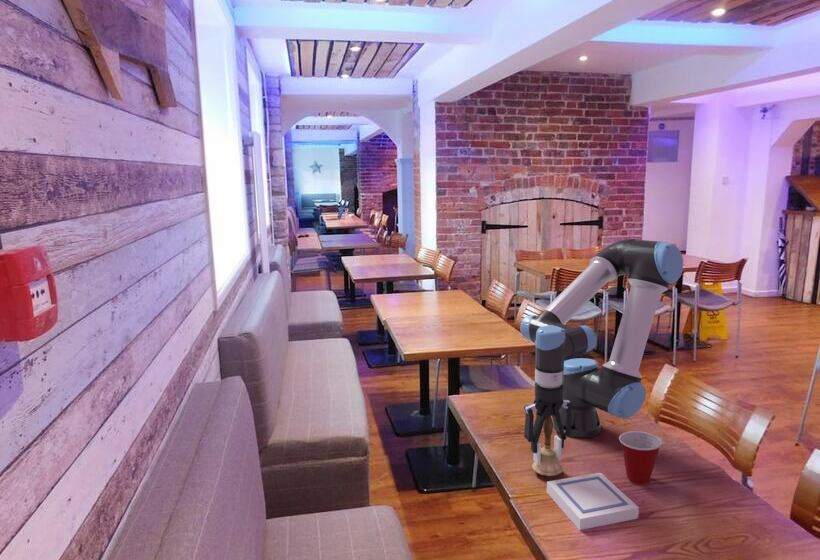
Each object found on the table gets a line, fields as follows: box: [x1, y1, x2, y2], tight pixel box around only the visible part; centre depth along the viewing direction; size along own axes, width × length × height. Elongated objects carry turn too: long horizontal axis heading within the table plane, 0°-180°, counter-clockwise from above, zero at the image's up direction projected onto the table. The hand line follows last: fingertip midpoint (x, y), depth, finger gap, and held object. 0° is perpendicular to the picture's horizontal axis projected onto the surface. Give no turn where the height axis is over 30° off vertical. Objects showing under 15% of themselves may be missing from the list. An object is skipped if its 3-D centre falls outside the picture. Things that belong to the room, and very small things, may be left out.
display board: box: [546, 472, 640, 531], centre depth 136 cm, size 16×16×3 cm
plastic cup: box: [618, 430, 663, 485], centre depth 146 cm, size 11×11×12 cm
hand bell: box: [531, 416, 563, 477], centre depth 149 cm, size 8×8×16 cm
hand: (547, 460), depth 150 cm, fingers closed on hand bell, 6 cm apart
